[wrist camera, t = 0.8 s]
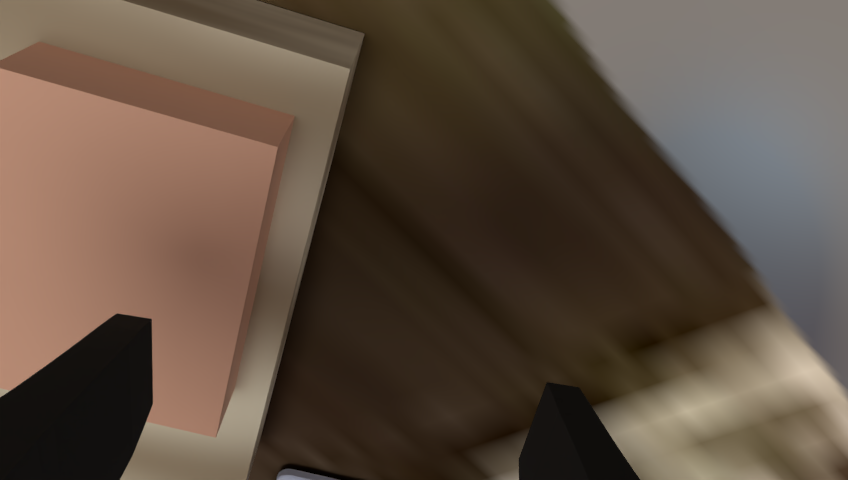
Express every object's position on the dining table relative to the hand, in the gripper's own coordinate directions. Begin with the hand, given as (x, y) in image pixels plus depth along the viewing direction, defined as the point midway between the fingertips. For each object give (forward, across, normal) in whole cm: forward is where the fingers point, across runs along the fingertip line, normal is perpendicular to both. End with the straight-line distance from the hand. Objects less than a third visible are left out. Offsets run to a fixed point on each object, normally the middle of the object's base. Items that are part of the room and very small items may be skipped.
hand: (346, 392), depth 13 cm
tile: (+6, +6, +2) cm, 9 cm away
